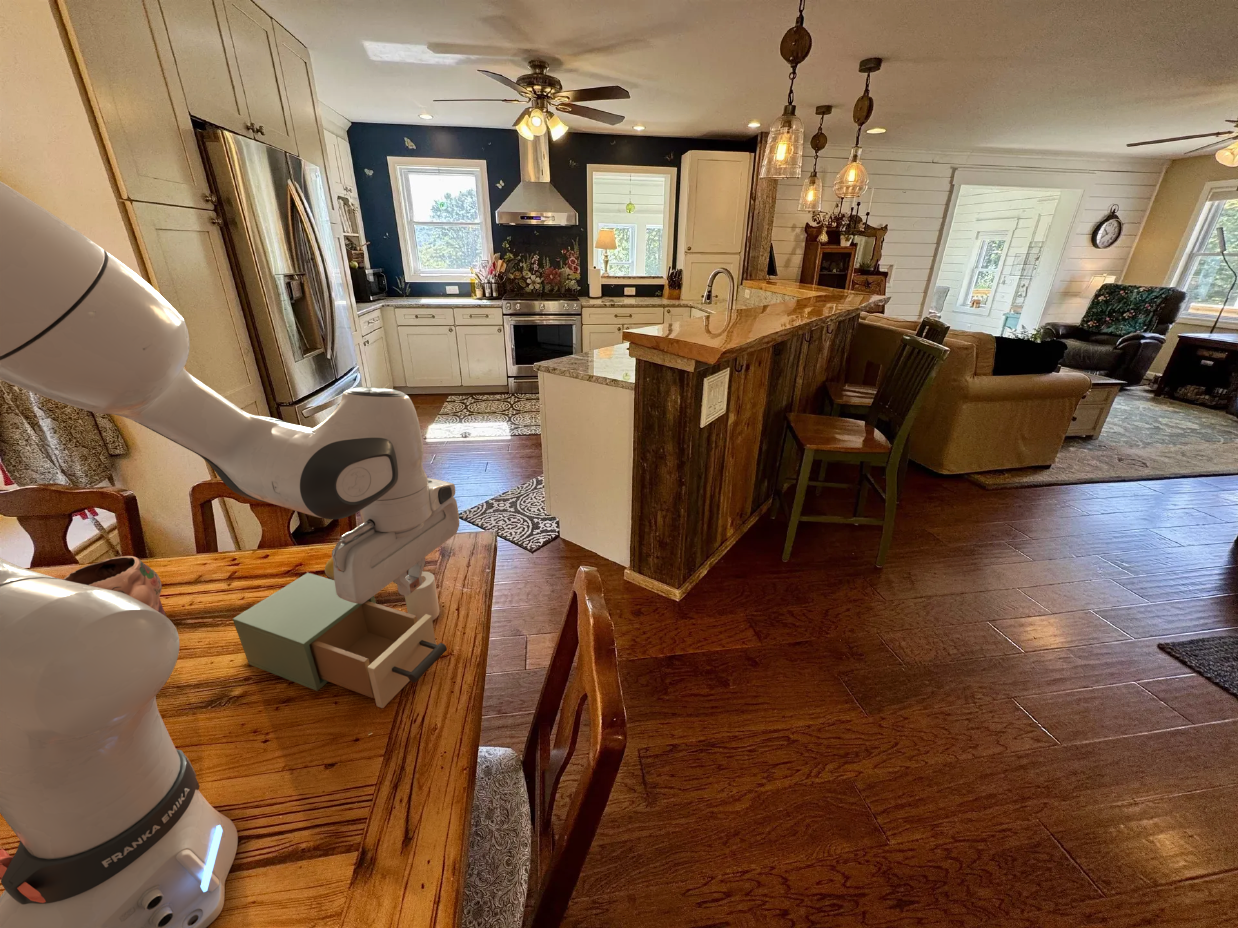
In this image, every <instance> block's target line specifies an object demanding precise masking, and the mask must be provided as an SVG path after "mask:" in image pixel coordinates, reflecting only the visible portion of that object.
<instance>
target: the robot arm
mask: <svg viewBox="0 0 1238 928" xmlns="http://www.w3.org/2000/svg"><path fill="white" fill-rule="evenodd" d="M190 346H191V342H190V334H189V329H188V325H187V323H186V321H185V319H184V317H183V315H181V314H180V313H179V312H178V311H177V310H176V309H175V308H174V307H173V306H172V305H171V303H169V301H168V300H166V299H165V298H164V297H163V296H162V295H161V294H160V293H159V292H158V291H157V290H156V289H155V288H154V287H153V286H152V285H151V284H150V283H148V282H147V281H146V280H145V279H144V278H143V277H141V276H140V275H139V274H137V273H136V272H135V271H133V270H132V269H131V268H130V267H128V266H127V265H126V264H124V263H123V262H121V261H120V260H119V259H117V258H116V257H115V256H113V255H112V254H111V253H109V252H108V251H107V250H106V249H104V248H102V247H101V246H100V245H98V243H96V242H95V241H93V240H91V239H90V238H88V236H85V235H84V234H83V233H81V232H80V231H79V230H77V229H76V228H74V227H73V226H72V225H71V224H69V223H67V222H65V220H63V219H61V218H60V217H58V216H56V215H55V214H53V213H52V212H50V211H49V210H47V209H46V208H45V207H43V206H41V205H40V204H38V203H37V202H35V201H33V200H32V199H31V198H28V197H27V196H26V195H24V194H22V193H21V192H19V191H18V190H16V189H15V188H13V187H11V186H10V185H8V184H7V183H4V182H2V181H1V180H0V380H1V381H3V382H5V383H7V384H11V385H12V386H15V387H18V388H21V389H23V390H26V391H28V392H31V393H34V394H36V395H38V396H41V397H44V398H46V399H49V400H53V401H55V402H59V403H62V404H65V405H67V406H71V407H73V408H77V409H81V410H85V411H88V412H92V413H96V414H99V415H114V416H118V417H122V418H124V419H125V418H126V419H128V420H130V421H133V422H135V423H137V424H139V425H140V426H143V427H145V428H147V429H149V430H151V431H152V432H154V433H156V434H157V435H160V436H162V437H164V438H166V439H167V440H169V441H171V442H173V443H175V444H177V445H179V446H181V447H182V448H185V449H186V450H188V451H190V452H192V453H194V454H195V455H198V456H199V457H200V458H202V459H203V460H204V461H205V462H206V463H207V464H208V465H209V466H210V467H211V468H212V469H213V471H214V472H215V473H216V475H217V476H218V477H219V478H220V480H221V481H222V482H223V484H225V486H227V487H228V489H229V490H231V491H232V492H233V493H234V494H236V495H238V496H240V497H243V498H245V499H247V500H252V501H258V502H263V503H269V504H273V505H276V506H279V507H282V508H285V509H288V510H292V511H295V512H299V513H302V514H306V515H308V516H312V517H315V518H319V519H326V520H340V519H341V520H342V519H345V518H348V517H351V516H353V515H355V514H357V513H358V512H359V515H360V519H361V524H359V525H358V526H356V527H355V528H354V529H352V530H351V531H347V532H345V533H343V535H341V536H340V537H339V538H338V539H339V541H338V542H337V543H336V544H335V546H334V548H333V549H332V551H331V558H333V568H334V579H333V580H334V581H335V588H336V593H337V595H338V596H339V597H340V598H342V599H344V600H346V601H349V602H353V603H358V604H363V603H365V602H366V601H367V600H369V599H370V598H371V597H373V596H374V597H375V596H376V595H377V594H378V593H380V592H381V591H382V590H383V589H384V588H386V587H388V586H389V585H390V584H391V583H394V584H395V585H396V586H397V591H398V594H399V595H400V596H404V597H405V596H408V595H410V594H411V593H412V592H413V591H414V590H415V589H417V588H418V587H419V586H421V585H422V579H421V575H422V572H424V568H425V565H426V557H427V556H428V555H430V554H432V553H433V552H434V551H435V550H437V549H438V548H439V547H440V546H442V545H443V544H444V543H446V542H447V541H449V540H450V539H451V538H452V537H454V536H455V535H457V533H458V531H459V528H460V515H459V507H458V502H457V500H456V498H455V495H456V486H455V484H454V483H453V482H449V481H445V480H441V479H436V478H430V477H428V475H427V473H426V471H425V469H424V466H423V465H424V464H423V458H424V451H425V450H424V443H423V442H424V441H423V435H422V430H421V425H420V420H419V417H418V413H417V411H416V408H415V405H414V403H413V401H412V399H411V397H410V396H409V395H408V394H407V393H405V392H403V391H400V390H397V389H393V388H386V387H375V386H374V387H372V386H365V387H364V386H362V387H353V388H350V389H346V390H345V391H343V393H342V395H341V399H340V402H339V404H338V405H337V406H336V408H335V409H334V410H333V411H332V413H331V414H329V415H328V416H327V418H326V419H324V420H323V421H322V422H321V423H319V424H318V425H316V426H314V427H309V426H303V425H300V424H295V423H292V422H289V421H286V420H283V419H282V420H281V419H279V418H278V419H277V418H274V417H268V416H262V415H255V414H251V413H248V412H246V411H244V410H243V409H241V408H240V407H239V406H237V405H236V404H234V403H233V402H231V401H230V400H228V398H225V397H224V396H222V395H221V394H219V392H217V391H215V390H214V389H212V388H211V387H209V386H208V385H206V384H205V383H203V382H202V381H200V380H199V379H198V378H196V377H195V376H194V375H192V374H191V373H190V372H188V371H187V369H185V366H186V364H187V362H188V358H189V356H190V350H191V347H190ZM407 570H409V571H407ZM63 579H64V578H60V577H55V576H51V575H47V574H44V573H41V572H37V571H35V570H31V569H28V568H26V567H22V566H19V565H17V564H15V563H13V562H10V561H8V560H6V559H4V558H3V557H0V815H1V816H2V818H3V819H4V821H5V822H6V823H7V824H8V826H9V827H10V829H11V830H12V832H14V834H15V835H16V837H17V838H18V839H19V844H18V846H17V849H16V851H15V853H14V855H13V856H12V855H10V854H9V853H8V851H6V850H5V849H0V883H1V886H2V887H3V888H4V891H3V892H2V893H1V895H0V928H207V927H209V926H210V925H211V924H212V923H213V922H214V921H215V920H217V918H218V917H219V915H220V914H221V913H222V911H223V908H224V905H225V895H226V887H225V884H226V881H227V877H228V875H229V873H230V870H231V868H232V865H233V863H234V860H235V858H236V854H237V850H238V843H239V834H238V830H237V828H236V826H235V824H234V822H233V821H232V819H230V818H229V817H228V816H226V815H224V814H222V813H221V812H219V811H218V810H217V809H215V808H214V807H213V805H211V804H210V803H209V801H208V800H207V799H206V798H205V797H204V795H203V794H202V792H200V786H201V785H200V783H199V781H198V779H197V773H196V771H195V768H194V767H193V765H192V763H191V761H190V759H189V758H188V756H186V755H185V753H184V752H183V750H182V749H177V748H176V746H175V744H174V743H173V740H172V738H171V736H170V733H169V731H168V729H167V727H166V724H165V721H163V718H162V716H161V714H160V711H159V707H158V704H157V695H158V693H159V692H161V690H162V689H163V688H164V686H165V685H166V683H167V682H168V680H169V678H171V675H172V674H173V671H174V669H175V668H176V664H177V662H178V659H179V653H180V645H181V644H180V638H179V637H180V636H179V633H178V630H177V627H176V626H175V624H174V623H173V622H172V620H170V618H169V617H167V615H166V616H164V615H163V614H161V613H159V612H158V611H156V610H155V609H153V608H151V607H150V606H148V605H146V604H144V603H143V602H141V601H139V600H137V599H135V598H133V597H131V596H129V595H127V594H124V593H121V592H117V591H113V590H108V589H103V588H99V587H94V586H89V585H85V584H80V583H75V582H70V581H67V580H63ZM193 922H194V923H193ZM192 923H193V924H192Z"/></svg>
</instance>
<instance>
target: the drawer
mask: <svg viewBox="0 0 1238 928" xmlns="http://www.w3.org/2000/svg"><path fill="white" fill-rule="evenodd" d="M434 629H435V628H434V622H433V621H432V616H430V615H427V614H425V615H424V616H423V617H422V618H421V619H420V620H419V621H417V616H415V615H412V614H409V613H408V612H405V611H401V610H398V609H395V608H392V607H389V606H385V605H382V604H378V603H377V602H376V603H372V602H369V601H366V602H365V603H363V604H362V605H361V606H359V607H358V608H357V609H355V610H354V611H353V612H351V613H350V614H349V615H348V616H346V617H345V618H344V619H342V620H341V621H340V622H338V623H337V624H336V625H334V626H333V627H332V628H330V629H329V630H328V631H326V632H325V633H324V634H322V635H321V636H320V637H318V638H317V639H316V640H315V641H313V642H312V643H311V644H309V646H310V650H311V653H312V656H313V660H314V663H315V667H316V670H317V673H318V677H319V678H321V679H323V680H326V681H329V682H328V683H331V684H334V685H337V686H340V687H342V688H343V689H344V688H345V689H347V690H349V691H353V692H355V693H357V694H360V695H363V696H365V697H369V698H371V699H374V701H375V705H376V707H378V708H380V709H384V708H385V707H386V706H387V705H388V704H389V703H390V702H391V701H392V700H393V698H394V697H396V695H398V694H399V692H400V691H402V689H404V687H405V686H406V685H407V684H408V683H409V682H411V683H414V684H415V683H417V682H418V681H419V680H420V679H421V678H422V677H423V676H424V675H425V674H426V672H428V671H429V670H430V669H431V667H432V666H433V665H434V664H435V663H436V662H437V661H438V660H439V659H440V658H441V657H442V655H443V654H444V653H445V652H447V650H448V648H447V645H446V644H445V643H443V642H440V643H438V644H437V641H436V635H435V630H434Z"/></svg>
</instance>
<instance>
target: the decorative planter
mask: <svg viewBox="0 0 1238 928" xmlns="http://www.w3.org/2000/svg"><path fill="white" fill-rule="evenodd" d="M62 579H63V580H67V581H70V582H75V583H80V584H85V585H89V586H94V587H99V588H103V589H108V590H113V591H117V592H121V593H124V594H127V595H129V596H131V597H133V598H135V599H137V600H139V601H141V602H143V603H144V604H146V605H148V606H150V607H151V608H153V609H155V610H156V611H158V612H159V613H161V614H163V615H164V616H166V617H167V614H166V611H165V609H164V607H163V604H162V601H161V597H160V596H161V594H162V589H163V587H162V581H161V578H160V576H159V574H158V573H157V572H156V571H155V570H154V569H153V568H151V567H150V566H148V565H147V564H145V563H144V562H143V561H142V560H141V559H140V558H139V557H136V556H132V555H124V556H116V557H112V558H106V559H103V560H101V561H98V562H93V563H90V564H86V565H84V566H82V567H80V568H78V569H76V570H74V571H72V572H70V573H69V574H68V575H66V576H65V577H64V578H62Z"/></svg>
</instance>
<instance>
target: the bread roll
mask: <svg viewBox="0 0 1238 928" xmlns="http://www.w3.org/2000/svg"><path fill="white" fill-rule="evenodd" d="M324 573H325V575H326V577H327V578H328V579H331V580H334V568H333V558H332V557H330V558H329V559H328V560H327V562H326V563H325V566H324Z"/></svg>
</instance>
